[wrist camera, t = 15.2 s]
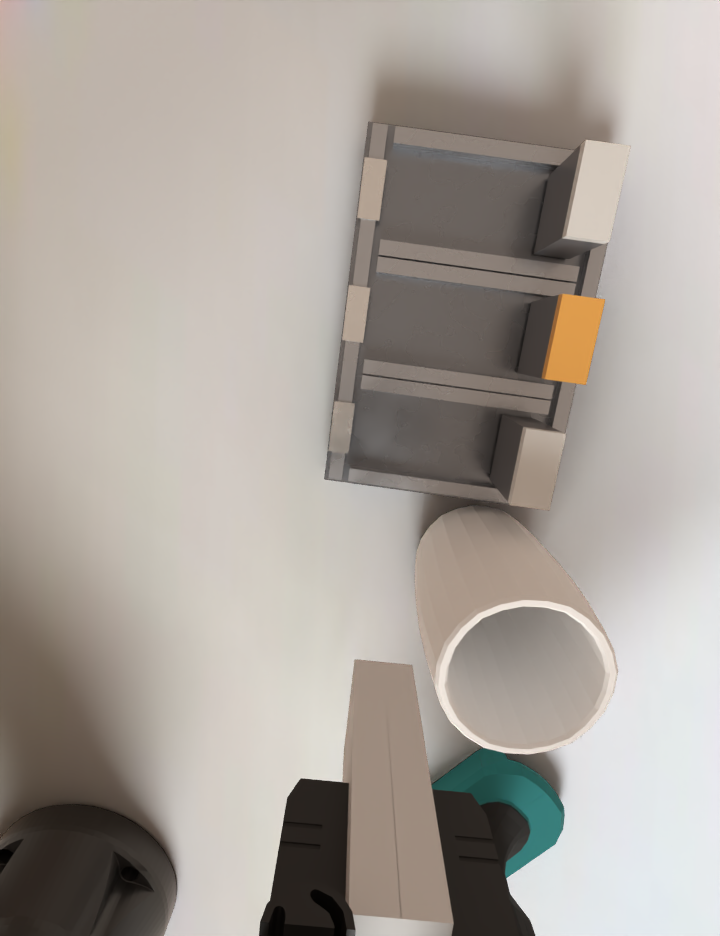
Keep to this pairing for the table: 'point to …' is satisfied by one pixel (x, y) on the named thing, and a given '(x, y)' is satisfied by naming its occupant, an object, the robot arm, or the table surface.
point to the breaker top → (582, 200)
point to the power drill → (510, 811)
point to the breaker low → (527, 461)
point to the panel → (445, 310)
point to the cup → (508, 635)
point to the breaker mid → (561, 338)
